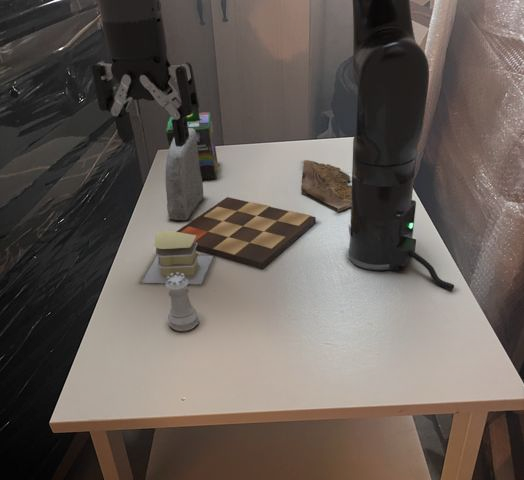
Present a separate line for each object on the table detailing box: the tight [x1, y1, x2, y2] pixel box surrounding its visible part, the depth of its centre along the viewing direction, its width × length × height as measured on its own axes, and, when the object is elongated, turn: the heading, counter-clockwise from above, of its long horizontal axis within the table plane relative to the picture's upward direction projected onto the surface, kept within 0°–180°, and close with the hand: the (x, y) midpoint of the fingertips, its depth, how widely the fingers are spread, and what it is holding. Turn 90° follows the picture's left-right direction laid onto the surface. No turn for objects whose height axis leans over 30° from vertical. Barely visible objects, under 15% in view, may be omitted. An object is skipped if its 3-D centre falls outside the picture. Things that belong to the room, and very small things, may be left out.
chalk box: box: [165, 108, 219, 181], centre depth 125 cm, size 9×9×15 cm
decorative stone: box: [164, 128, 204, 221], centre depth 111 cm, size 11×6×15 cm, turn 168°
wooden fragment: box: [300, 159, 352, 214], centre depth 120 cm, size 26×11×1 cm, turn 9°
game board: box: [175, 196, 317, 270], centre depth 106 cm, size 20×18×1 cm
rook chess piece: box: [164, 273, 200, 332], centre depth 84 cm, size 4×4×8 cm
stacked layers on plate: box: [141, 230, 214, 285], centre depth 96 cm, size 10×9×6 cm
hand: (154, 142), depth 83 cm, fingers open, 8 cm apart
